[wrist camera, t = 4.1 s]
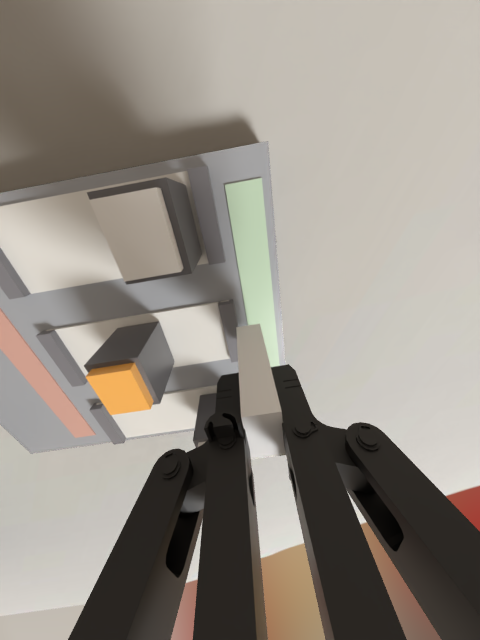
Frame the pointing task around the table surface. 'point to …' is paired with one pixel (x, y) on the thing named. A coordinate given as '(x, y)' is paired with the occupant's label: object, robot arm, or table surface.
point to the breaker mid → (131, 368)
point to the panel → (130, 298)
